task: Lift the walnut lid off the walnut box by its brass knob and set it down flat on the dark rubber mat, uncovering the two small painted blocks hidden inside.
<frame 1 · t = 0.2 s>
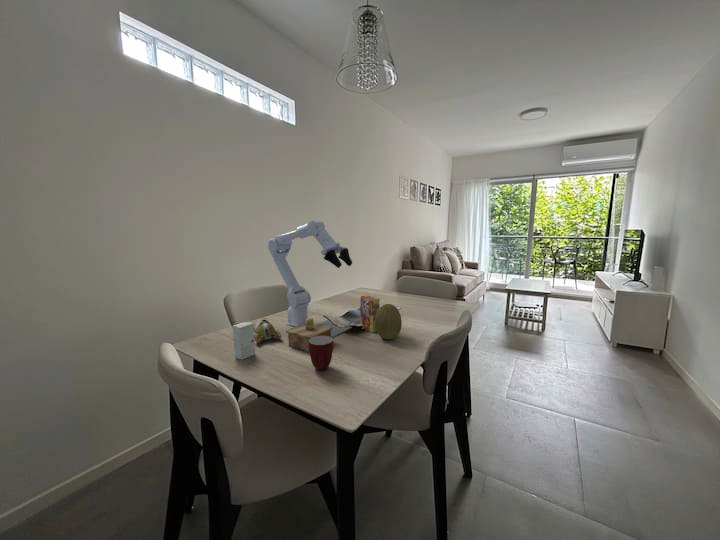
hand: (345, 265, 121), 31 cm above the table, fingers open, 7 cm apart
skincare box: (245, 356, 107), on the table
mug: (322, 370, 97), on the table
fruit: (387, 338, 123), on the table
sage block: (319, 343, 119), resting in box
mat: (330, 328, 135), on the table
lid: (309, 330, 117), point 5 cm above the table, touching box
ceramic sculpture: (265, 339, 124), on the table
candy box: (369, 329, 134), on the table
terracotta block: (301, 344, 117), resting in box
box: (310, 343, 118), on the table
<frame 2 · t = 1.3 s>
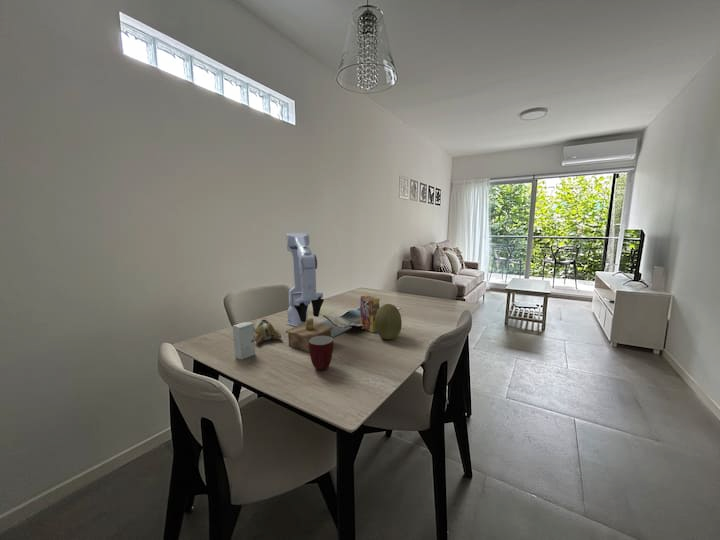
hand: (309, 318, 116), 11 cm above the table, fingers open, 7 cm apart
nothing on the table moved.
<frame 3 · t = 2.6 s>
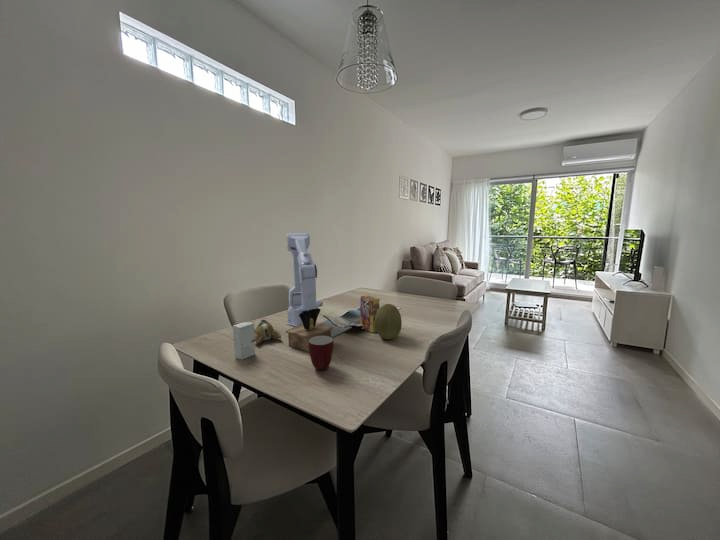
hand: (309, 327, 117), 7 cm above the table, fingers closed on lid, 3 cm apart
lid: (309, 330, 117), point 5 cm above the table, touching box, gripper
everything else where it was.
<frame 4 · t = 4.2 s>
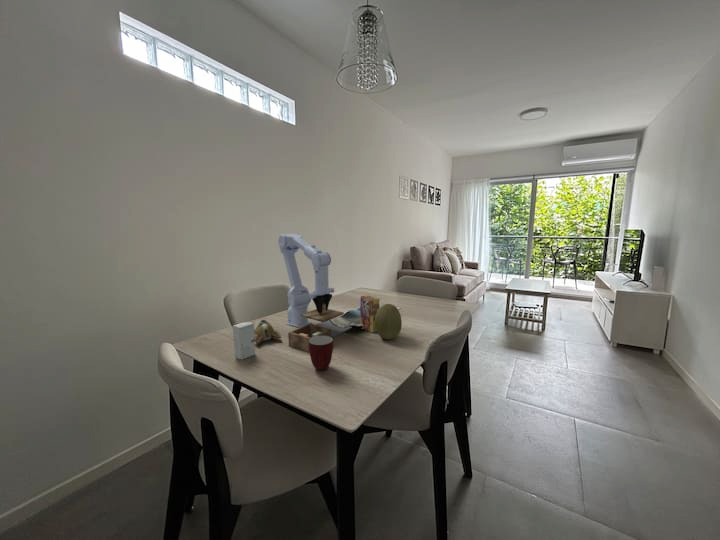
hand: (322, 311, 127), 10 cm above the table, fingers closed on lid, 3 cm apart
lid: (322, 315, 127), point 9 cm above the table, touching gripper
everything else where it was.
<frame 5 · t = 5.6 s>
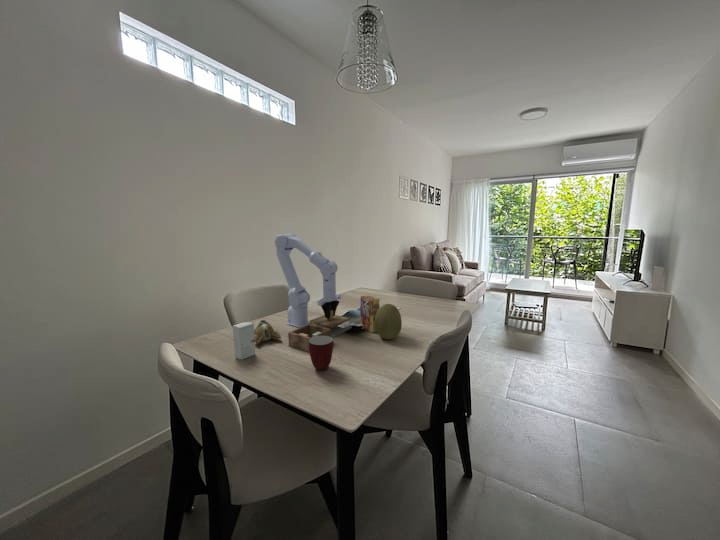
hand: (330, 317, 134), 6 cm above the table, fingers closed on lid, 3 cm apart
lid: (330, 321, 134), point 4 cm above the table, touching gripper
everything else where it was.
when the fingers open (3 cm above the table, at t = 6.4 s): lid stays where it is, resting on mat.
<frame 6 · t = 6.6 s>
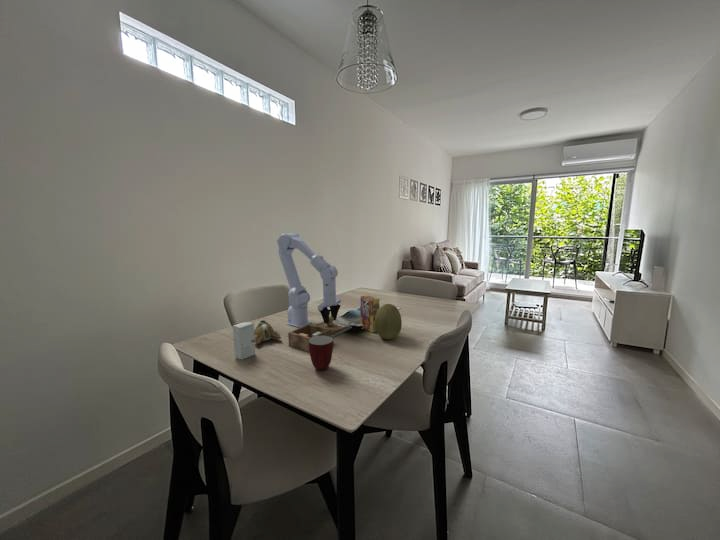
hand: (330, 321, 135), 3 cm above the table, fingers open, 5 cm apart
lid: (330, 327, 135), resting on mat
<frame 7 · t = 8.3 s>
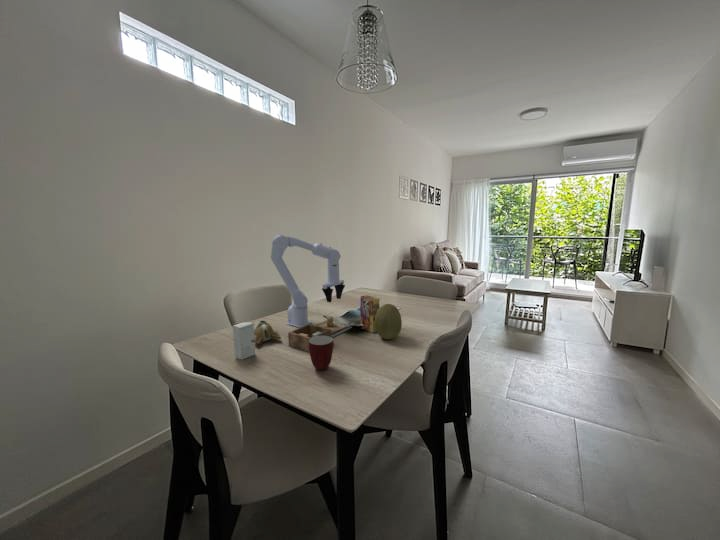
hand: (334, 300, 145), 10 cm above the table, fingers open, 7 cm apart
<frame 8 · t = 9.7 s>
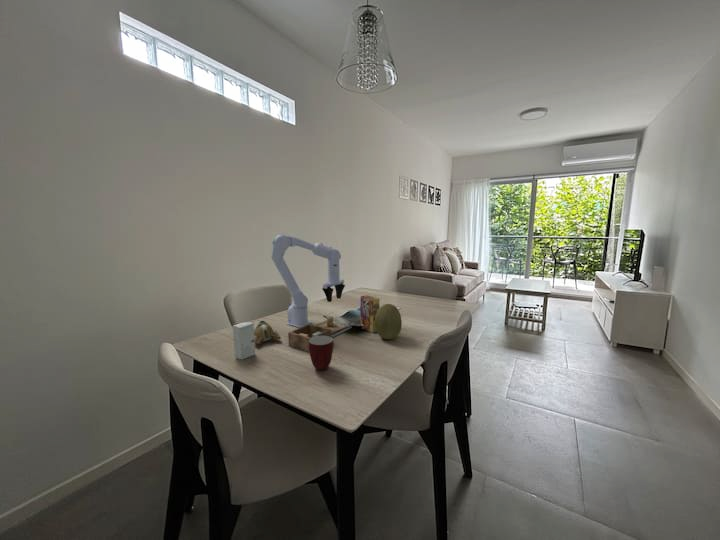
hand: (334, 299, 146), 10 cm above the table, fingers open, 7 cm apart
at the end: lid inside the target area on the mat (0.0 cm from its centre), point 0.5 cm above the mat's base; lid tilted 0°; the gripper is holding nothing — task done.
